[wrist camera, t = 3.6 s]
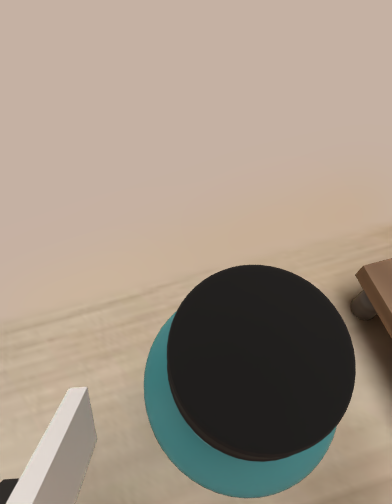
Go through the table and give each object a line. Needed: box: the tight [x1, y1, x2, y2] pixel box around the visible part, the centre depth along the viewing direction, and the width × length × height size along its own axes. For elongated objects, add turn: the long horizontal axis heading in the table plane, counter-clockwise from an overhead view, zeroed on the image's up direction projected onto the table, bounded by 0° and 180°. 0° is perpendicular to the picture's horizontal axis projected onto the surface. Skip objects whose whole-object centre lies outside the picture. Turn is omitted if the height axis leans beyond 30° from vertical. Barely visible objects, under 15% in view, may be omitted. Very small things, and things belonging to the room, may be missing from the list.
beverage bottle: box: [144, 265, 356, 498], centre depth 15 cm, size 6×7×20 cm
